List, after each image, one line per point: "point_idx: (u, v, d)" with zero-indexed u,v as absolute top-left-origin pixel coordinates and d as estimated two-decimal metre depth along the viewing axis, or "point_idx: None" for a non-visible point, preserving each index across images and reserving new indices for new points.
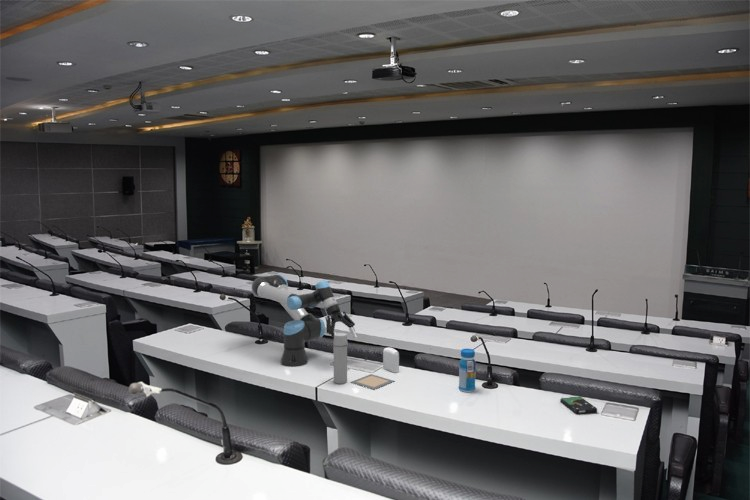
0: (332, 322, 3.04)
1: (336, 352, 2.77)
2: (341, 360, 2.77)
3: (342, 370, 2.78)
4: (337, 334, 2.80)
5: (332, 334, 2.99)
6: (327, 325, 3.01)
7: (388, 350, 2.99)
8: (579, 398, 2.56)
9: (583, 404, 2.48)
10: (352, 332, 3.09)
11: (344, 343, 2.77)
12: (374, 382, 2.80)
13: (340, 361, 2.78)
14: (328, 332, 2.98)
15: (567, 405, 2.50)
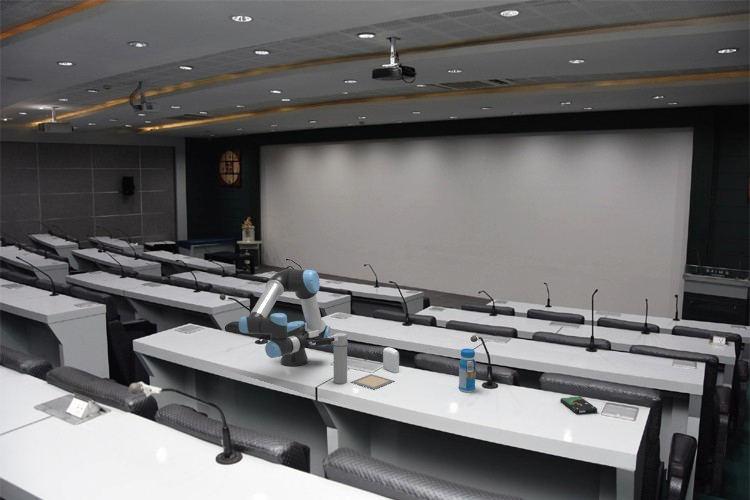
0: None
1: (336, 352, 2.77)
2: (341, 360, 2.77)
3: (342, 370, 2.78)
4: (337, 334, 2.80)
5: None
6: None
7: (388, 350, 2.99)
8: (579, 398, 2.56)
9: (583, 404, 2.48)
10: None
11: (344, 343, 2.77)
12: (374, 382, 2.80)
13: (340, 361, 2.78)
14: None
15: (567, 405, 2.50)
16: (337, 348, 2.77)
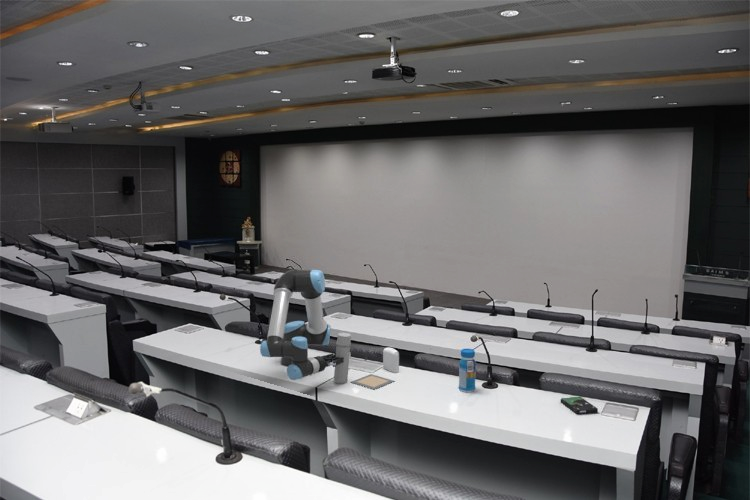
0: None
1: (339, 352, 2.77)
2: (343, 360, 2.77)
3: (344, 370, 2.78)
4: (341, 334, 2.79)
5: None
6: None
7: (388, 350, 2.99)
8: (579, 398, 2.55)
9: (583, 404, 2.48)
10: None
11: (347, 344, 2.76)
12: (374, 382, 2.80)
13: None
14: None
15: (568, 405, 2.49)
16: (340, 348, 2.76)
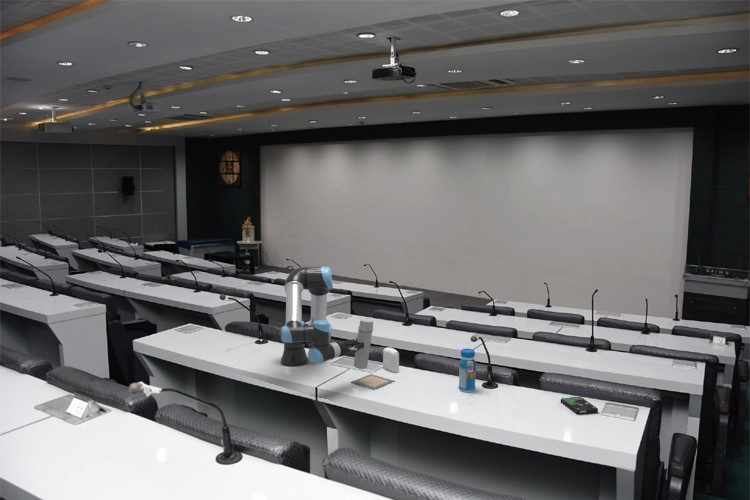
0: None
1: (360, 337, 2.74)
2: (364, 346, 2.74)
3: (364, 355, 2.75)
4: (364, 319, 2.75)
5: None
6: None
7: (388, 350, 2.99)
8: (579, 398, 2.55)
9: (583, 404, 2.48)
10: None
11: (369, 329, 2.73)
12: (374, 382, 2.80)
13: None
14: (354, 341, 2.80)
15: (568, 405, 2.49)
16: (362, 333, 2.73)
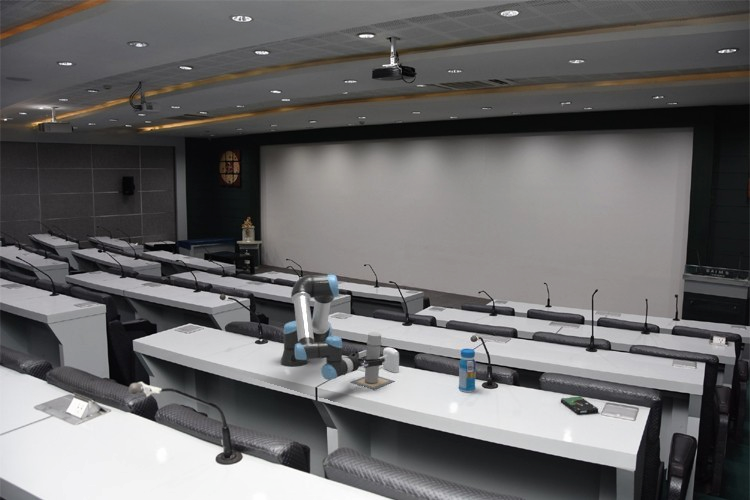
0: None
1: (369, 351, 2.76)
2: None
3: (374, 370, 2.77)
4: (371, 333, 2.78)
5: None
6: None
7: (388, 350, 2.99)
8: (579, 398, 2.55)
9: (584, 404, 2.48)
10: None
11: (378, 343, 2.76)
12: None
13: None
14: None
15: (568, 405, 2.49)
16: (370, 348, 2.76)
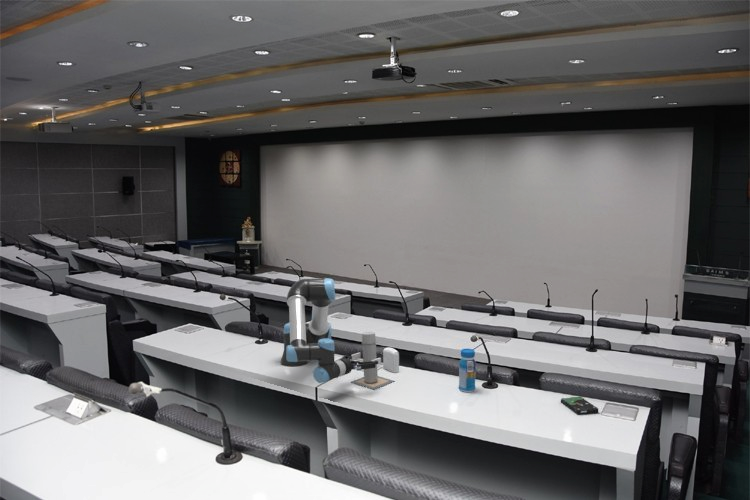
0: None
1: (365, 351, 2.77)
2: (371, 359, 2.77)
3: (372, 368, 2.78)
4: (365, 333, 2.80)
5: None
6: None
7: (388, 350, 2.99)
8: (579, 398, 2.55)
9: (584, 404, 2.48)
10: None
11: (372, 341, 2.77)
12: (374, 382, 2.80)
13: (370, 360, 2.77)
14: None
15: (568, 405, 2.49)
16: (366, 347, 2.77)
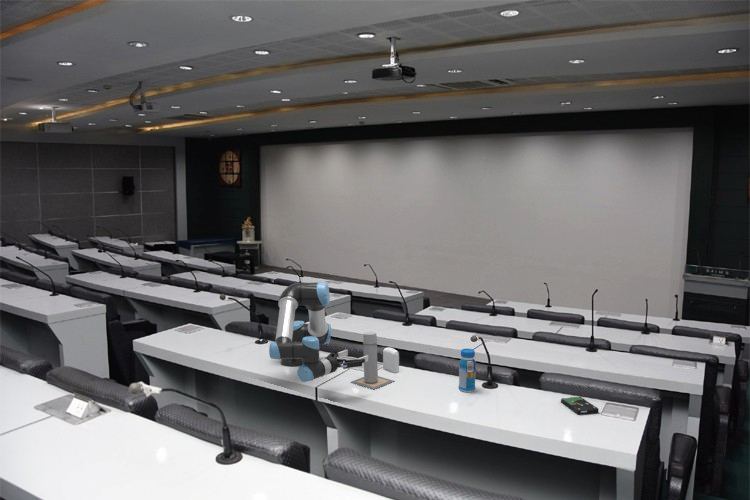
0: None
1: (366, 351, 2.77)
2: (371, 359, 2.77)
3: (373, 369, 2.78)
4: (367, 333, 2.80)
5: (337, 355, 2.73)
6: None
7: (388, 350, 2.99)
8: (579, 398, 2.55)
9: (584, 405, 2.48)
10: None
11: (374, 342, 2.77)
12: None
13: (370, 360, 2.77)
14: None
15: (568, 405, 2.49)
16: (367, 347, 2.77)
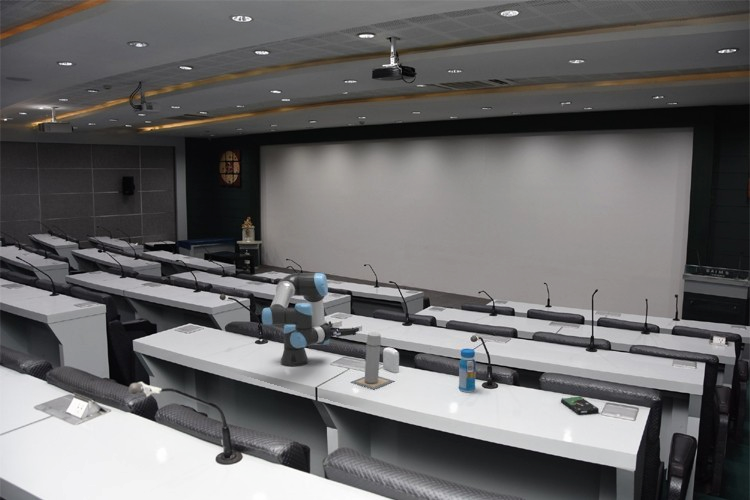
0: None
1: (369, 351, 2.76)
2: (373, 360, 2.76)
3: (374, 370, 2.77)
4: (371, 333, 2.78)
5: (331, 325, 2.71)
6: None
7: (388, 350, 2.99)
8: (579, 398, 2.55)
9: (584, 405, 2.48)
10: None
11: (377, 343, 2.76)
12: None
13: (372, 361, 2.76)
14: (326, 324, 2.71)
15: (568, 405, 2.49)
16: (370, 348, 2.76)
